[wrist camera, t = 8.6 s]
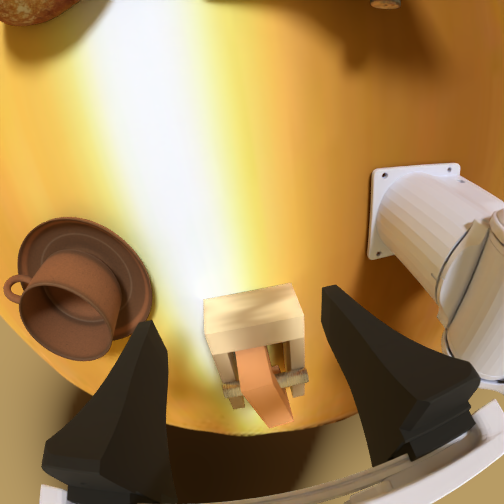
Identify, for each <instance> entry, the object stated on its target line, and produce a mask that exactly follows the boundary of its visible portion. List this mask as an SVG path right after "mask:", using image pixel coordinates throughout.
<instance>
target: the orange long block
mask: <svg viewBox="0 0 504 504" xmlns="http://www.w3.org/2000/svg"><path fill="white" fill-rule="evenodd" d="M235 354H236V361H237V368H238V375H239V381H240V388H241V393H242V394H243V395H244V397H245V398H246V399H247V401H248V402H249V403H250V404H251V406H252V407H253V408H254V410H255V411H256V412H257V413H258V415H259V416H260V417H261V419H262V420H263V421H264V422H265V424H266V425H267V426H268V427H269V428H272V427H276V426H279V425H283V424H286V423H290V422H293V421H294V420H293V416H292V412H291V408H290V404H289V401H288V397H287V393H286V389H285V388H281V387H280V385H279V383H278V381H277V379H276V377H275V375H274V374H278V373H281V371H280V369H279V367H278V365H276V366H273V367H271V363H270V359H269V354H268V350H267V346H261V347H256V348H250V349H245V350H239V351H235Z"/></svg>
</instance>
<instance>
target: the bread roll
mask: <svg viewBox="0 0 504 504" xmlns="http://www.w3.org/2000/svg"><path fill="white" fill-rule="evenodd" d="M79 1H80V0H0V21H2V22H4V23H6V24H9V25H14V26H28V25H33V24H38V23H42V22H46V21H48V20H51V19H53V18H55V17H57V16H59V15H60V14H62V13H63V12H64V11H66V10H67V9H69V8H71V7H72V6H73V5H74V4H76V3H78V2H79Z"/></svg>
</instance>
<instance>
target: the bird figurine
mask: <svg viewBox="0 0 504 504" xmlns="http://www.w3.org/2000/svg"><path fill="white" fill-rule="evenodd" d="M370 5H371V6H373V7H375V8H381V9H395V8H399V7H400V6H401V1H400V0H370Z"/></svg>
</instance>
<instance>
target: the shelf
mask: <svg viewBox="0 0 504 504" xmlns="http://www.w3.org/2000/svg"><path fill="white" fill-rule="evenodd" d="M203 300H204V332H205V337H206V340H207V343H208V345H209V348H210V351H211V353H212V356H213V359H214V361H215V364H216V367H217V369H218V372H219V374H220V377H221V380H222V382H223V384H222V386H223V393H224V396H225V398H229V400H230V402H231V404H232V407H233V409H237V408H243V407H245V404H244V398H243V396H244V395H243V394H242V393H241V388H240V381H239V375H238V368H237V364H236V361H235V357H234V354H233V352H234V351H239V350H245V349H250V348H256V347H261V346H266V345H271V344H275V343H280V342H283V352H284V363H285V370H286V372H282V373H278V374H274V375H275V377H276V379H277V381H278V383H279V385H280V387H281V388H285V387H289V386H290V388H291V392H292V396H293V398H294V397H298V396H302V395H304V386H305V383H306V382H308V381H309V380H308V374H307V370H306V368H305V349H304V314H303V311H302V309H301V306H300V304H299V301H298V299H297V296H296V294H295V291H294V289H293V286H292V284H291V283H287V284H282V285H277V286H272V287H267V288H262V289H257V290H252V291H247V292H241V293H236V294H231V295H225V296H220V297H214V298H209V299H203Z"/></svg>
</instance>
